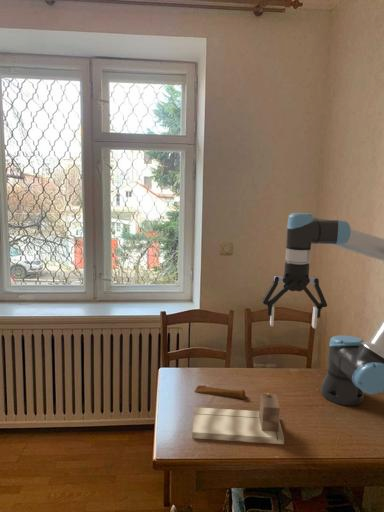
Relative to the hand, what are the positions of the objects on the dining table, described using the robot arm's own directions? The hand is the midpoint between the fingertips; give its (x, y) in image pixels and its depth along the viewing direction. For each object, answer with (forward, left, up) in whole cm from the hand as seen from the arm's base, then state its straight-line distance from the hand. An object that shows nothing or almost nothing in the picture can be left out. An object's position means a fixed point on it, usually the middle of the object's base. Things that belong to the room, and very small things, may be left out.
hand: (292, 326), depth 125 cm
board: (+17, +7, -33) cm, 38 cm away
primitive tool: (+23, -14, -33) cm, 43 cm away
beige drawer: (+7, +7, -31) cm, 32 cm away
